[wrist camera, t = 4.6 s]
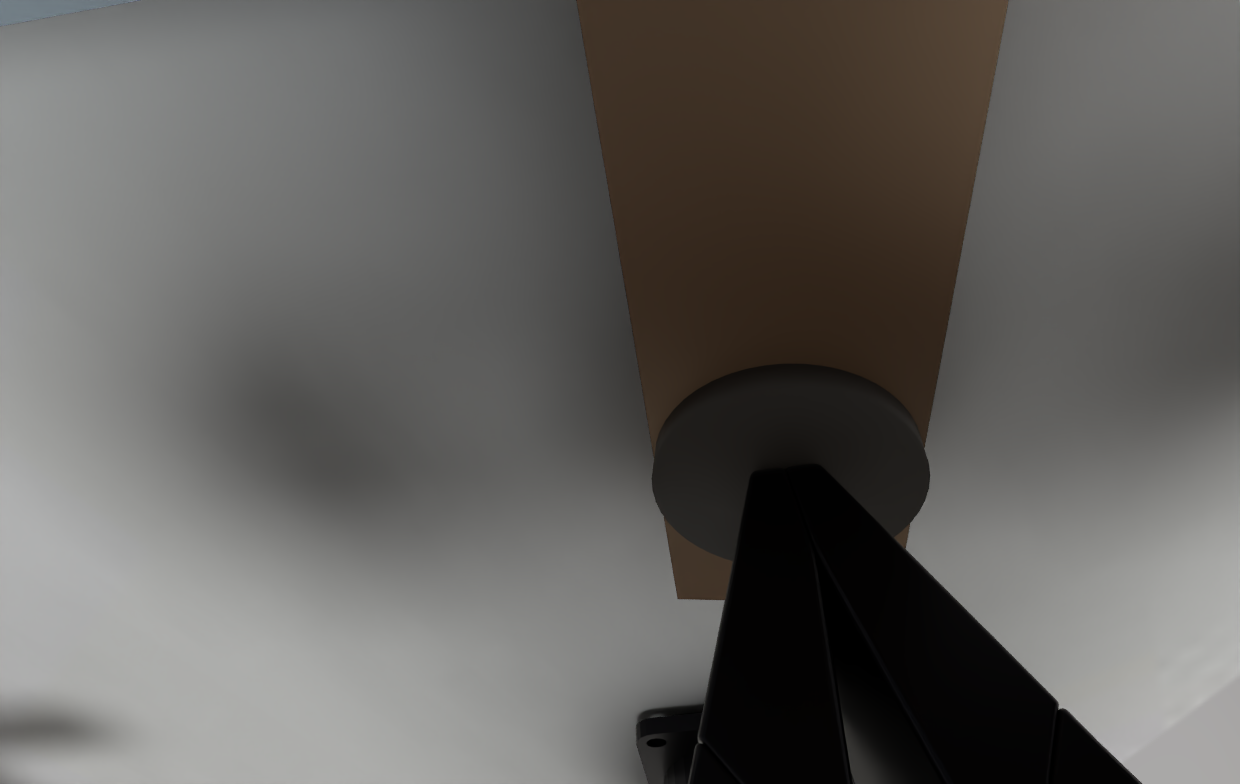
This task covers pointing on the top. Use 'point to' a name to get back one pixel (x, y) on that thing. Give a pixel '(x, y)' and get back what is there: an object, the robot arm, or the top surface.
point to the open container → (47, 8)
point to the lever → (788, 239)
